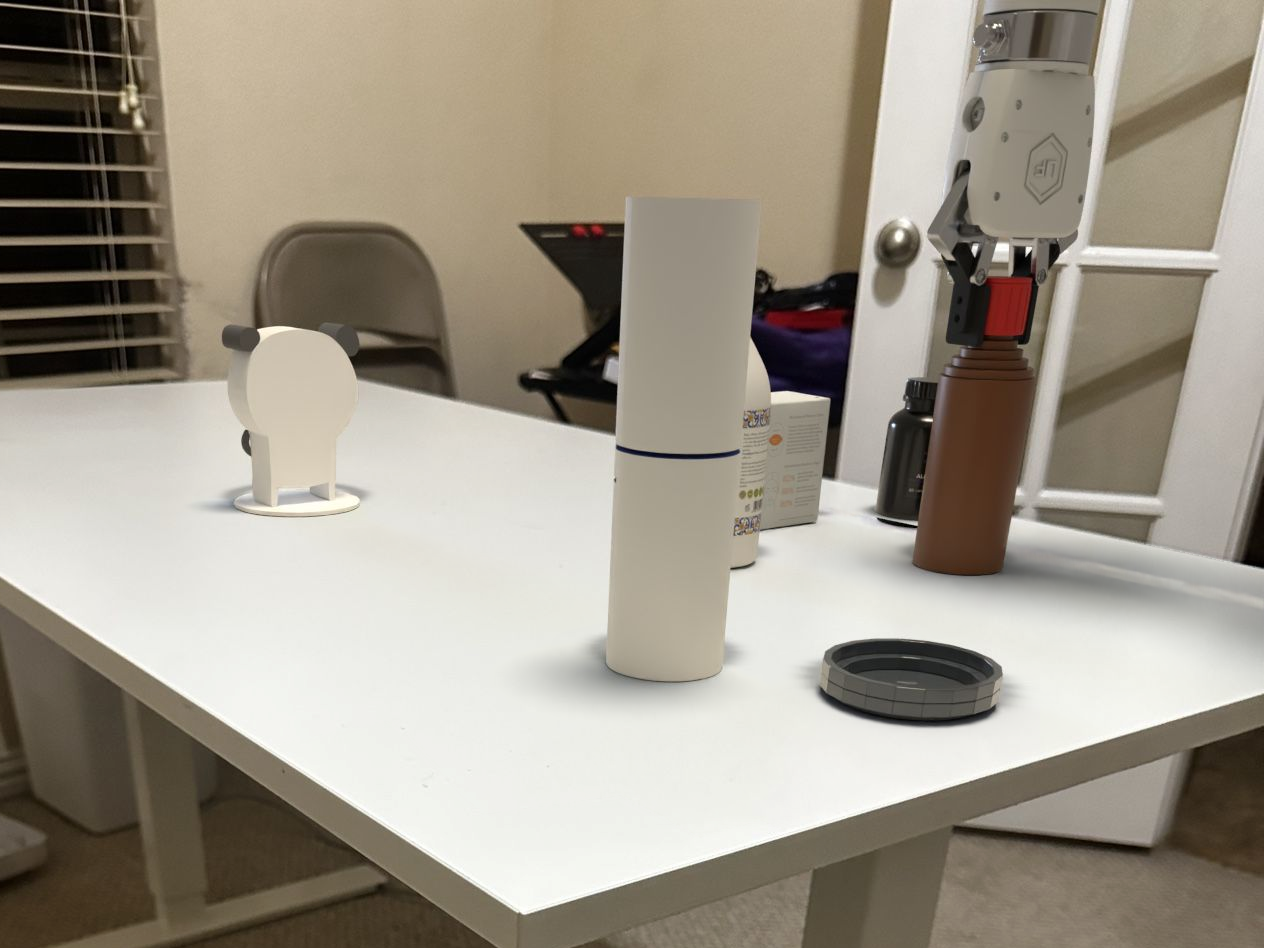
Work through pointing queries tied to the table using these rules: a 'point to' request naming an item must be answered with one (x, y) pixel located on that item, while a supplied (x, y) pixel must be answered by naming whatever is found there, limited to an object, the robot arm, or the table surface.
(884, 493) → the supplement bottle
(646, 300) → the cylindrical container
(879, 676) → the saucer
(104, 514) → the table surface
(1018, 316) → the cap
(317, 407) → the panda figurine
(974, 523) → the bottle
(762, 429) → the bath foam
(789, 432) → the small box
